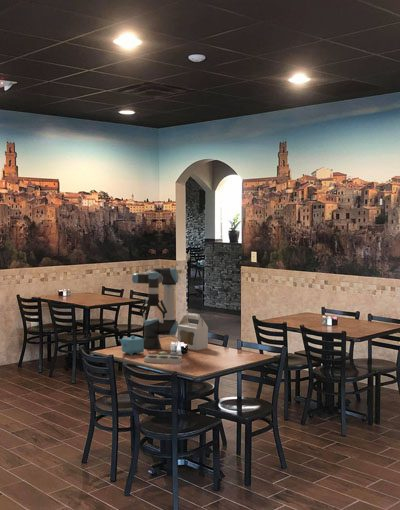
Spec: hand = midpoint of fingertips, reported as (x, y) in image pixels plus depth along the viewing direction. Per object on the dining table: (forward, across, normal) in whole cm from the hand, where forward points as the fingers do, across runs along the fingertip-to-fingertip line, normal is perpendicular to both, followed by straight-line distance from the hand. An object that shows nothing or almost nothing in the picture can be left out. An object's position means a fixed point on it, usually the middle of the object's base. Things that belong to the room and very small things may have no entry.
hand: (153, 322), depth 465 cm
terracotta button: (+23, 0, 0) cm, 23 cm away
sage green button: (+23, +8, 0) cm, 24 cm away
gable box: (+28, +18, +58) cm, 67 cm away
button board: (+28, +8, 0) cm, 29 cm away
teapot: (+28, -22, +20) cm, 41 cm away
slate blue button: (+23, +16, 0) cm, 28 cm away
